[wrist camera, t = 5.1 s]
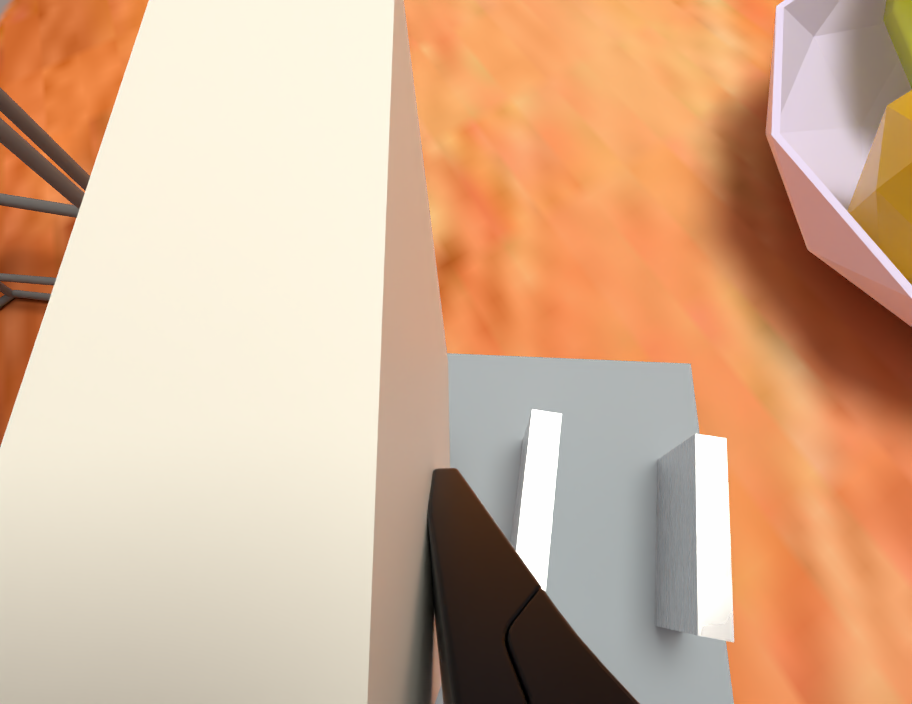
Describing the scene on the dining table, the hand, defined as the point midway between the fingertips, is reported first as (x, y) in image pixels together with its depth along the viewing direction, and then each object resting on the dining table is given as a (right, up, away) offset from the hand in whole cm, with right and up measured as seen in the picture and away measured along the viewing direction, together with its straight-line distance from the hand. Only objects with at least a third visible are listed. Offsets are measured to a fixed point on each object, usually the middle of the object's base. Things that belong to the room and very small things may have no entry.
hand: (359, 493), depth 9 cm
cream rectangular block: (0, -2, +6) cm, 6 cm away
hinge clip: (+7, -4, +11) cm, 14 cm away
